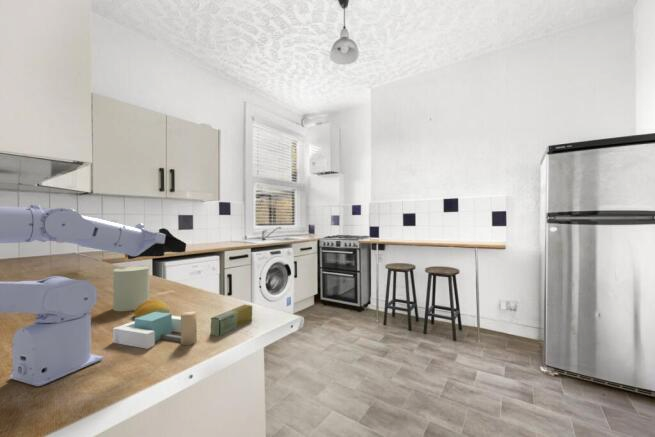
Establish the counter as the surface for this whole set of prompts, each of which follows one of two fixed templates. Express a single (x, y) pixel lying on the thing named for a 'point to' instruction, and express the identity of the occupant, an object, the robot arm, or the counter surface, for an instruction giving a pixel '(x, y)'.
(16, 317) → the counter surface
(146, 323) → the tethered block
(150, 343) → the white u-shaped bracket
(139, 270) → the can
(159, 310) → the bread roll
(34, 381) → the robot arm
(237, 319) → the medication box
